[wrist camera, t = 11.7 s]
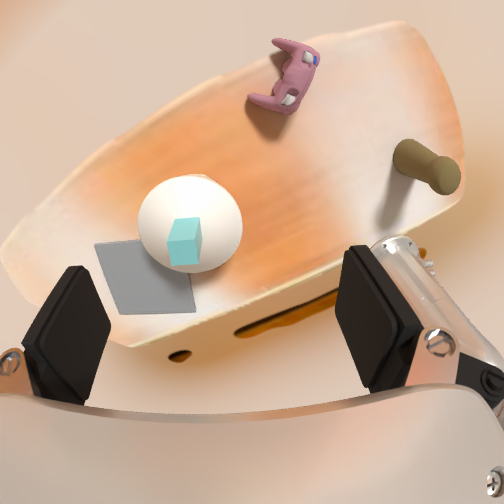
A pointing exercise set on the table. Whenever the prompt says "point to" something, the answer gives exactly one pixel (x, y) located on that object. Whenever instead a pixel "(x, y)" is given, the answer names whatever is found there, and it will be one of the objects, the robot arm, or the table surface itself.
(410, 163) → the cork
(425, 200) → the table surface
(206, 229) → the lid
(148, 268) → the mat
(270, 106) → the video game controller
